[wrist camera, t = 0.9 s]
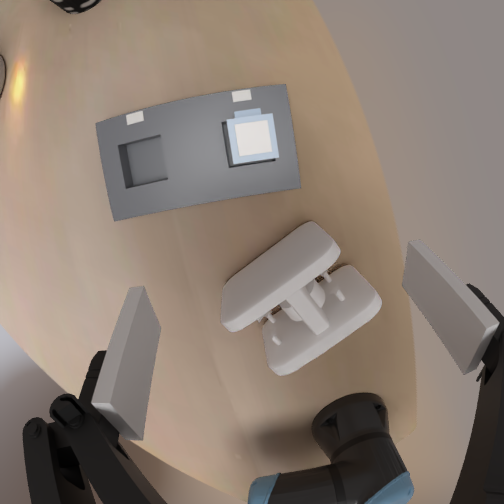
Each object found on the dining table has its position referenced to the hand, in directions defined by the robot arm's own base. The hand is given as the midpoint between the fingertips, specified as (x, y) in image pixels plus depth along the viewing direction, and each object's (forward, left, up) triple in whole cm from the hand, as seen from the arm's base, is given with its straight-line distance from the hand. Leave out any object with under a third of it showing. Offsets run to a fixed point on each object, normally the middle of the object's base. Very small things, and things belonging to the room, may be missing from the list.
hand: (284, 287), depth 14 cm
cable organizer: (-11, -3, -25) cm, 27 cm away
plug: (+7, -1, -24) cm, 25 cm away
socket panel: (+7, +6, -24) cm, 26 cm away
